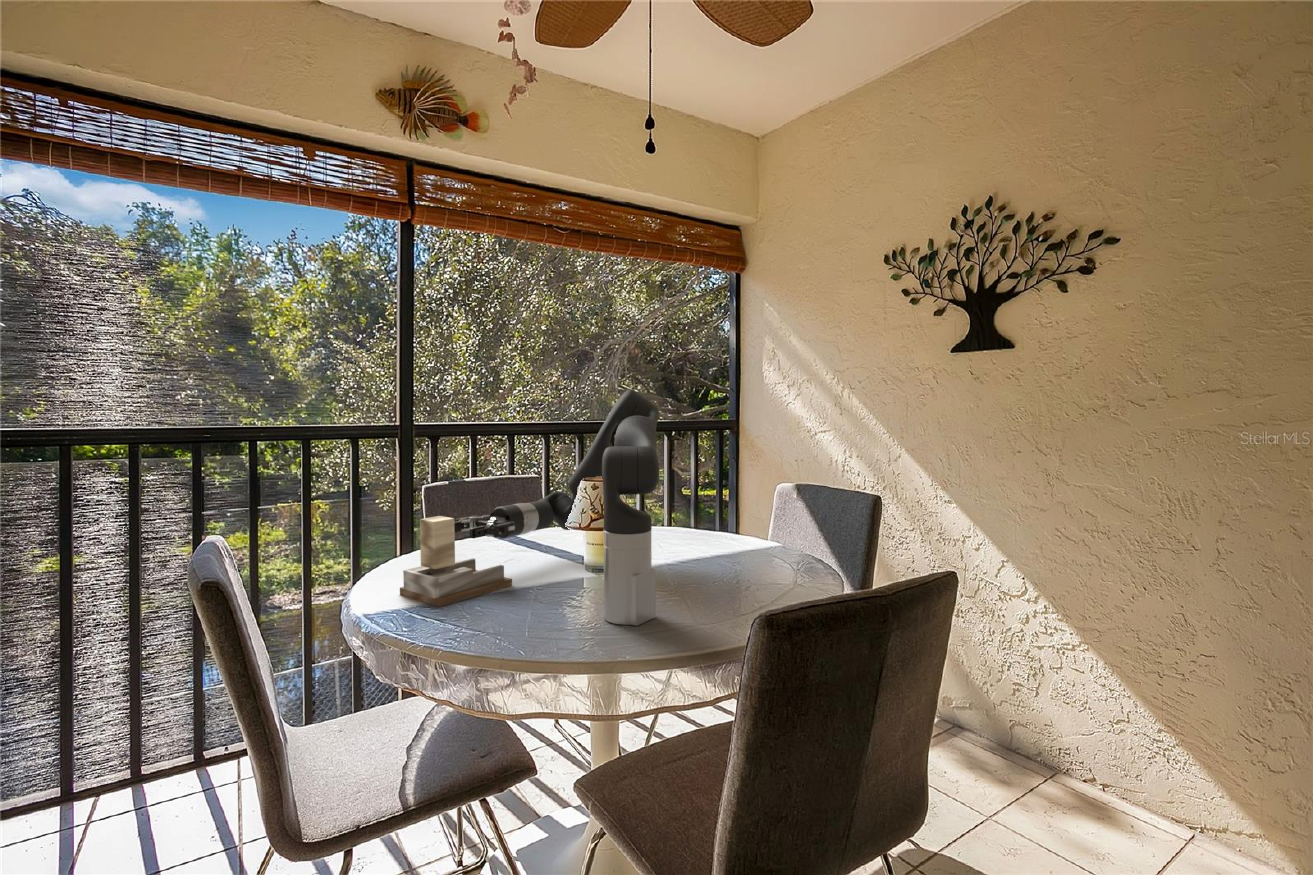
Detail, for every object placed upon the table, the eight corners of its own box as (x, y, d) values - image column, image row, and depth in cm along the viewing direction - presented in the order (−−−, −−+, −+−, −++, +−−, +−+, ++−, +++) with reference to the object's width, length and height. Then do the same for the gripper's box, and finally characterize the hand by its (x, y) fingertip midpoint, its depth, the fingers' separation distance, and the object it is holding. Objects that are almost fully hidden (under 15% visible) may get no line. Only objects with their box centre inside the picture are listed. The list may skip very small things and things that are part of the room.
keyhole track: (512, 585, 150) (511, 561, 149) (439, 607, 134) (438, 580, 134) (472, 575, 158) (472, 552, 158) (399, 594, 143) (399, 569, 142)
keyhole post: (462, 587, 143) (461, 518, 142) (434, 595, 137) (432, 523, 136) (442, 581, 147) (441, 514, 146) (414, 589, 142) (412, 519, 141)
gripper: (495, 501, 163) (438, 510, 150) (535, 507, 154) (478, 517, 141) (495, 531, 163) (438, 543, 150) (535, 539, 155) (479, 552, 142)
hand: (458, 531), depth 146 cm, fingers open, 8 cm apart
